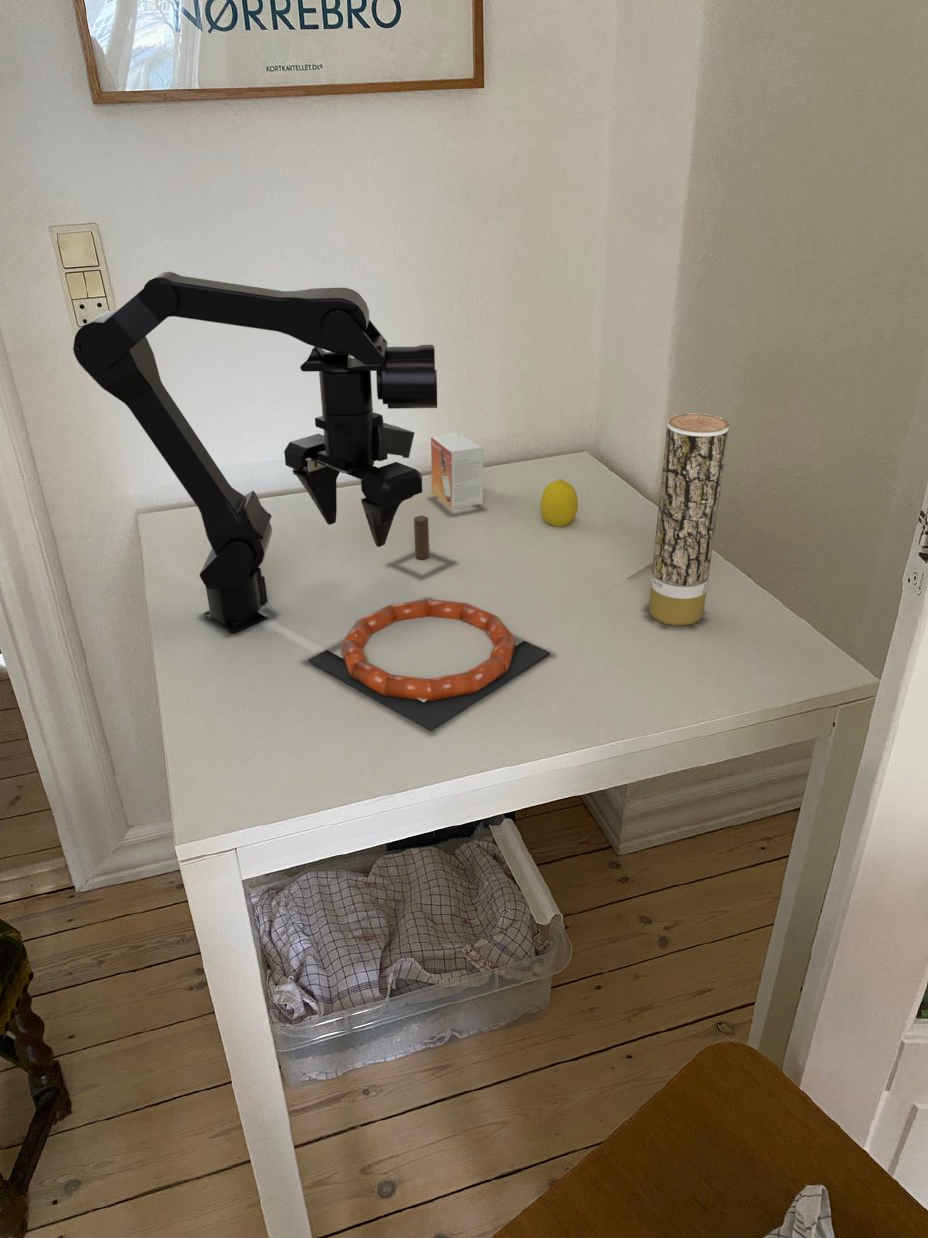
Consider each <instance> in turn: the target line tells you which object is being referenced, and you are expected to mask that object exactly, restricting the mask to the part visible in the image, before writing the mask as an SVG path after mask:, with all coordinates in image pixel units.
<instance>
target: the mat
mask: <svg viewBox="0 0 928 1238" xmlns="http://www.w3.org/2000/svg"><path fill="white" fill-rule="evenodd" d="M549 656H550V651H548V650H546V649H543V648H542V647H539V646H537V645H534V644H533V643H530V642H528V641H526V640H523V641H521V642H520V643H518V644H516V648H515V651H514V654H513V657H512V660H511V663H510V666H509V669H508V671H507V672H506V673H505V674H504V675H502V676H501V677H499V678H498V679H496V680H494V681H493V682H491V683H490V684H488V685H487V686H485V687H483V688H482V689H480V690H479V691H477V692H475V693H472V694H467V695H462V696H456V697H451V698H446V699H440V700H435V701H427V700H425V701H422V700H421V699H419V700H414V699H406V698H397V697H389V696H384V695H382V694H380V693H378V692H376V691H375V690H373V689H371V688H369V687H367V686H366V685H364V684H362V683H360V682H359V681H357V680H355V679H353V678H352V677H351V676H350V674H349V672H348V669H347V666H346V664H345V661H344V658H343V657H341V656H339V655H337V654H336V653H334V652H332V651H330V650H328V649H326V650H324V651H322V652H320V653H318V654H316V655H314V656H312V657H310V658H309V659H308V661H307V662H308V663H309V664H311V665H313V666H314V667H316V668H318V669H320V670H321V671H323V672H325V673H327V674H328V675H330V676H332V677H334V678H336V679H337V680H339V681H341V682H342V683H345V684H346V685H348V686H350V687H351V688H353V689H355V690H357V691H358V692H361V693H363V694H364V695H366V696H367V697H369V698H371V699H373V700H374V701H377V702H378V703H380V704H381V705H383V706H385V707H387V708H389V709H390V710H393V711H394V712H396V713H398V714H399V715H401V716H403V717H405V718H407V719H408V720H410V721H412V722H413V723H416V724H417V725H419V726H420V727H423V728H425V729H426V730H427V731H430V732H433V731H434V730H435V729H437V728H439V727H440V726H442V725H443V724H444V723H446V722H448V721H450V720H451V719H453V718H454V717H455V716H457V715H459V714H460V713H462V712H463V711H465V710H466V709H467V708H470V707H471V706H473V705H474V704H476V703H477V702H479V701H480V700H482V699H484V698H485V697H487V696H488V695H490V694H491V693H493V692H494V691H496V690H497V689H499V688H500V687H502V686H504V685H505V684H506V683H508V682H510V681H512V680H513V679H514V678H516V677H518V676H519V675H521V674H522V673H524V672H526V671H527V670H528V669H530V668H531V667H533V666H535V665H536V664H538V663H539V662H541V661H543V660H544V659H546V658H547V657H549Z"/></svg>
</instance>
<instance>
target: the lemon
mask: <svg viewBox="0 0 928 1238" xmlns="http://www.w3.org/2000/svg"><path fill="white" fill-rule="evenodd" d="M578 501H579V499H578V494H577V492H576V489H575V487H574V486H573V485H572V484H570V482H568V481H565V480H563V479H562V478H558V479H557V480H555V481H552V482H550V483H549V484H548V485H547V486H546V487H545V488H544V490H543V492H542V494H541V498H540V506H539V507H540V512H541V516H542V518H543V520H544V521H545V522H546V523H547V524H548V525H550V526H552V527H558V528H560V527H561V528H562V527H566V526H568V525H570V524H571V523H572V522H573V521H574V519H575V518H576V516H577V513H578V509H579V508H578V507H579V502H578Z"/></svg>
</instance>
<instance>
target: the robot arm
mask: <svg viewBox="0 0 928 1238" xmlns="http://www.w3.org/2000/svg"><path fill="white" fill-rule="evenodd" d="M170 317H174V318H175V317H176V318H182V319H188V320H195V321H203V322H209V323H217V324H224V325H229V326H230V325H231V326H237V327H244V328H252V329H258V330H264V331H265V330H266V331H271V332H277V333H281V334H284V335H286V336H287V335H288V336H290V337H291V338H294V339H296V340H298V341H299V342H302V343H304V344H306V345H309V346H312V348H311V351H310V352H309V353H308V355H306V356H305V357H304V358H303V360H302V363H301V364H300V365H299V368H300V371H302V372H304V373H305V372H308V373H309V372H311V373H312V372H318V377H319V389H320V402H321V403H320V404H321V415H320V416H317V417H314V424H315V428H319V429H321V430H323V434H321V433H315V434H313V435H309V436H305V437H302V438H297V439H296V440H292V441H289V442H288V444H287V446H286V447H285V449H284V452H283V454H284V463H285V464H284V465H285V466H286V467H288V468H290V469H292V470H291V471H292V474H293V475H294V476H295V477H297V479H298V480H299V482H300V484H301V485H302V486H303V487H304V489H305V490H306V492H307V493H308V495H309V496H310V498H311V500H312V501H313V503H314V504H315V506H316V508H317V510H318V511H319V513H320V514H321V517H323V519H324V521H325V523H326V524H327V525H330V526H332V525H334V524H336V522H337V514H338V503H337V502H338V500H337V497H338V494H337V493H338V492H337V481H338V477H339V475H340V474H344V475H348V476H351V477H353V478H356V479H358V480H360V489H361V490H360V491H361V493H362V494H363V496H364V498H361V499H360V501H361V505H362V509H363V511H364V514H365V518H366V521H367V524H368V527H369V531H370V533H371V536H372V539H373V542H374V545H375V546H376V547H378V548H381V547H383V546H385V544H386V542H387V540H388V537H389V533H390V531H391V527H392V524H393V522H394V518H395V515H396V513H397V512H398V509H399V508H400V505H401V504H402V503H403V502H404V501H406V500H409V499H412V498H413V497H414V496H416V495H418V494H422V493H423V474H422V473H421V471H419V470H418V469H416V468H414V467H411V466H409V465H406V464H403V463H400V462H397V461H394V462H391V463H388V464H385V465H382V466H380V467H378V466H376V465H375V462H377V461H378V462H383V461H385V460H388V458H389V457H388V455H392V456H393V455H394V456H401V457H402V458H404V459H409V458H410V454H411V452H412V451H411V449H412V446H413V442H414V438H415V431H413V430H409V429H406V428H402V427H400V426H397V425H395V424H394V425H393V424H390V423H386V422H384V417H383V415H382V414H380V413H377V412H374V408H373V407H374V405H373V388H372V386H373V385H372V372H375V375H376V377H375V378H376V395H377V400H378V401H379V400H380V401H381V400H382V405H387V409H388V410H389V409H390V410H391V409H393V410H399V409H438V369H436V354H435V353H436V352H435V350H436V349H435V345H434V344H420V345H417V346H388V341H387V340H386V338H385V337H384V335H383V334H382V333H381V332H380V331H379V330H378V328H377V327H376V325H374V323H373V322H372V320H371V319H370V309H369V307H368V304H367V302H366V301H365V300H364V298H363V296H362V295H361V294H360V292H359V293H358V291H356V290H354V289H352V288H348V287H316V288H307V289H300V290H286V291H285V290H279V289H273V288H272V289H271V288H264V287H259V286H251V285H244V284H239V283H238V284H237V283H231V282H224V281H218V280H211V279H205V278H198V277H191V276H186V275H185V276H184V275H180V274H178V273H176V272H173V271H163V272H159V273H158V274H156V275H154V276H153V277H152V278H150V279H149V280H148V281H147V282H146V283H145V284H144V286H143V288H142V289H141V290H140V291H139V292H138V293H137V294H135V295H134V296H133V297H132V298H131V299H129V300H128V301H127V302H126V303H125V304H124V305H122V306H121V307H120V308H119V309H118V310H107V311H103V312H101V313H99V314H98V315H96V317H94V318H93V319H91V320H90V321H88V322H87V323H85V324H84V325H83V326H82V327H80V328H79V329H78V330H77V332H76V334H75V336H74V340H73V347H72V350H73V355H74V357H75V360H76V361H77V363H78V364H79V365H80V367H82V369H83V371H85V372H86V373H87V374H88V375H89V376H90V377H91V378H92V380H93V381H95V382H96V384H98V385H99V386H100V388H101V389H103V390H104V391H106V392H107V393H108V394H110V395H112V396H113V397H114V398H116V399H117V400H119V401H120V402H121V403H123V404H124V405H125V406H126V407H127V408H128V409H129V411H130V412H131V413H132V415H133V417H134V418H135V419H136V421H137V422H138V424H139V425H140V426H141V428H142V429H143V431H144V432H145V434H146V435H147V437H148V438H149V439H150V441H151V442H152V444H153V445H154V447H155V448H156V449H157V451H158V453H159V454H160V455H161V456H162V459H164V461H165V462H166V464H167V465H168V467H169V468H170V470H171V471H172V473H173V474H174V476H175V477H176V478H177V479H178V481H179V483H180V484H181V486H182V487H183V488H184V490H185V492H186V493H187V494H188V495H189V498H191V500H192V501H193V503H194V505H195V506H196V507H197V509H198V510H199V512H200V513H199V514H200V516H201V519H202V524H203V526H204V531H205V534H206V538H207V540H208V543H209V545H210V547H211V550H210V552H209V554H208V556H207V558H206V560H205V562H204V564H203V567H202V569H201V571H200V573H199V578H200V579H201V581H202V583H203V585H204V586H205V591H206V597H207V603H208V609H209V610H207V611H205V612H203V617H204V618H205V619H206V620H207V621H209V622H212V623H213V624H215V625H217V626H218V627H220V628H222V629H224V630H225V631H227V632H228V633H231V634H235V633H238V632H240V631H242V630H244V629H247V628H249V627H251V626H253V625H255V624H257V623H259V622H262V621H264V620H266V619H268V617H267V616H266V615H263V614H262V613H259V612H260V611H261V608H262V607H264V606H265V605H266V604H267V603H268V602H269V600H268V592H267V584H266V577H265V576H264V575H263V574H262V569H261V567H260V566H261V564H262V563H263V562H264V560H265V556H266V553H267V550H268V547H269V545H270V542H271V539H272V535H273V527H272V525H271V519H272V516H273V515H272V514H271V513H270V512H268V511H267V510H266V509H265V508H264V507H263V505H262V503H261V502H260V499H259V497H258V494H257V493H256V492H255V490H251V491H250V492H248V493H247V494H246V495H244V494H242V493H241V492H240V491H238V490H236V489H235V488H234V487H232V485H231V484H230V483H229V482H228V481H227V479H226V477H225V476H224V474H223V473H222V471H221V469H220V468H219V466H218V465H217V464H216V462H215V461H214V459H213V458H212V456H211V454H210V453H209V451H208V450H207V448H206V447H205V446H204V444H203V442H202V441H201V439H200V438H199V437H198V435H197V434H196V432H195V431H194V428H192V426H191V424H190V423H189V422H188V420H187V418H186V417H185V415H184V414H183V412H182V411H181V409H180V408H179V407H178V405H177V403H176V402H175V401H174V399H173V397H172V396H171V394H170V393H169V392H168V390H167V389H166V387H165V385H164V384H163V381H162V379H161V376H160V373H159V368H158V364H157V361H156V357H155V353H154V351H153V349H152V347H151V344H150V342H149V340H148V338H147V336H148V335H150V333H151V332H152V331H153V330H155V329H156V328H157V327H158V326H160V325H161V323H163V322H164V321H165V320H167V318H170Z"/></svg>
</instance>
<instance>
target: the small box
mask: <svg viewBox="0 0 928 1238" xmlns="http://www.w3.org/2000/svg"><path fill="white" fill-rule="evenodd" d="M484 449H485V448H484V446H482V445H480V444H478V443H477V442H476V441H474V440H473V439H471V438H470V437H468V435H466V434H465V433H463V432H462V431H461V432H454V433H449V434H441V435H436V436H435V435H434V436H431V437H430V461H431V463H430V465H431V466H430V467H431V493H432V494H433V495H434V496H436V497H437V499H439V500H440V501H441V502H443V503H444V504H445V505H446V506H447V507H448V508H450V509H451V510H456V509H462V508H466V507H471V506H477V505H481V504H483V503H484V451H485V450H484Z"/></svg>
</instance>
